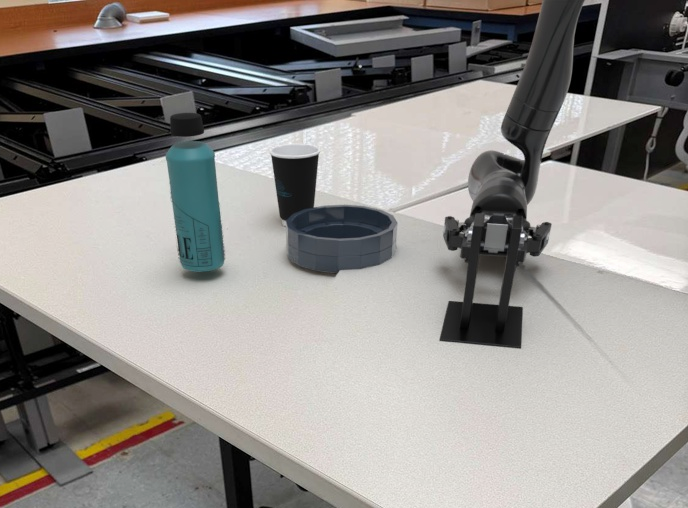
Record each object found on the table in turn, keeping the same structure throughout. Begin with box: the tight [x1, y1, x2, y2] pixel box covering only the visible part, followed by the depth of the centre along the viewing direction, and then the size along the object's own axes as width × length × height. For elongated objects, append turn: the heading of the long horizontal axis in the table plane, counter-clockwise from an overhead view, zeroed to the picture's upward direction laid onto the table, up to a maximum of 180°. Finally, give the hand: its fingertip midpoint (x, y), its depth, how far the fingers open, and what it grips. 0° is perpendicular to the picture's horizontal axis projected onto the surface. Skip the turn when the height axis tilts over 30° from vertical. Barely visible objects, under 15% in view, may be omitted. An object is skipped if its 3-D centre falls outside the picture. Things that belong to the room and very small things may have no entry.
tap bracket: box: [439, 213, 525, 349], centre depth 81 cm, size 11×9×13 cm
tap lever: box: [479, 223, 509, 258], centre depth 83 cm, size 13×5×2 cm, turn 166°
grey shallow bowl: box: [285, 204, 398, 274], centre depth 103 cm, size 16×16×5 cm
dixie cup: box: [268, 143, 322, 228], centre depth 113 cm, size 8×8×11 cm
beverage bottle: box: [165, 112, 226, 273], centre depth 94 cm, size 6×7×20 cm
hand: (492, 256), depth 86 cm, fingers closed on tap lever, 5 cm apart
